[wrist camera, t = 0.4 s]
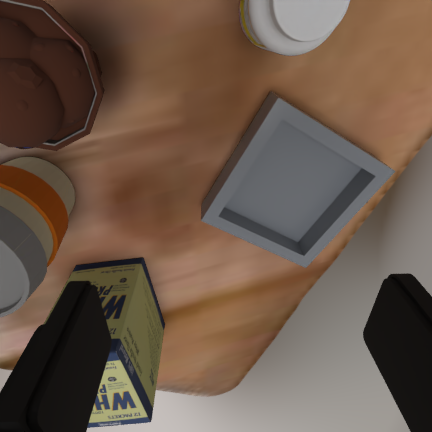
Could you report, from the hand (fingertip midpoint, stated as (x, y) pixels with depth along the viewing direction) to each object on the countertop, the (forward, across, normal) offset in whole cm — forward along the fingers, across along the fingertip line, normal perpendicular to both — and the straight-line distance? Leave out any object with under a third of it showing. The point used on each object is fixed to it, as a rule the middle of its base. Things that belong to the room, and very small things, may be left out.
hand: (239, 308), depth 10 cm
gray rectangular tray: (+28, -9, +8) cm, 30 cm away
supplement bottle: (+28, -5, -10) cm, 30 cm away
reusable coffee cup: (+28, +22, +9) cm, 37 cm away
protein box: (+28, +15, +28) cm, 42 cm away
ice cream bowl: (+28, +14, -5) cm, 32 cm away
